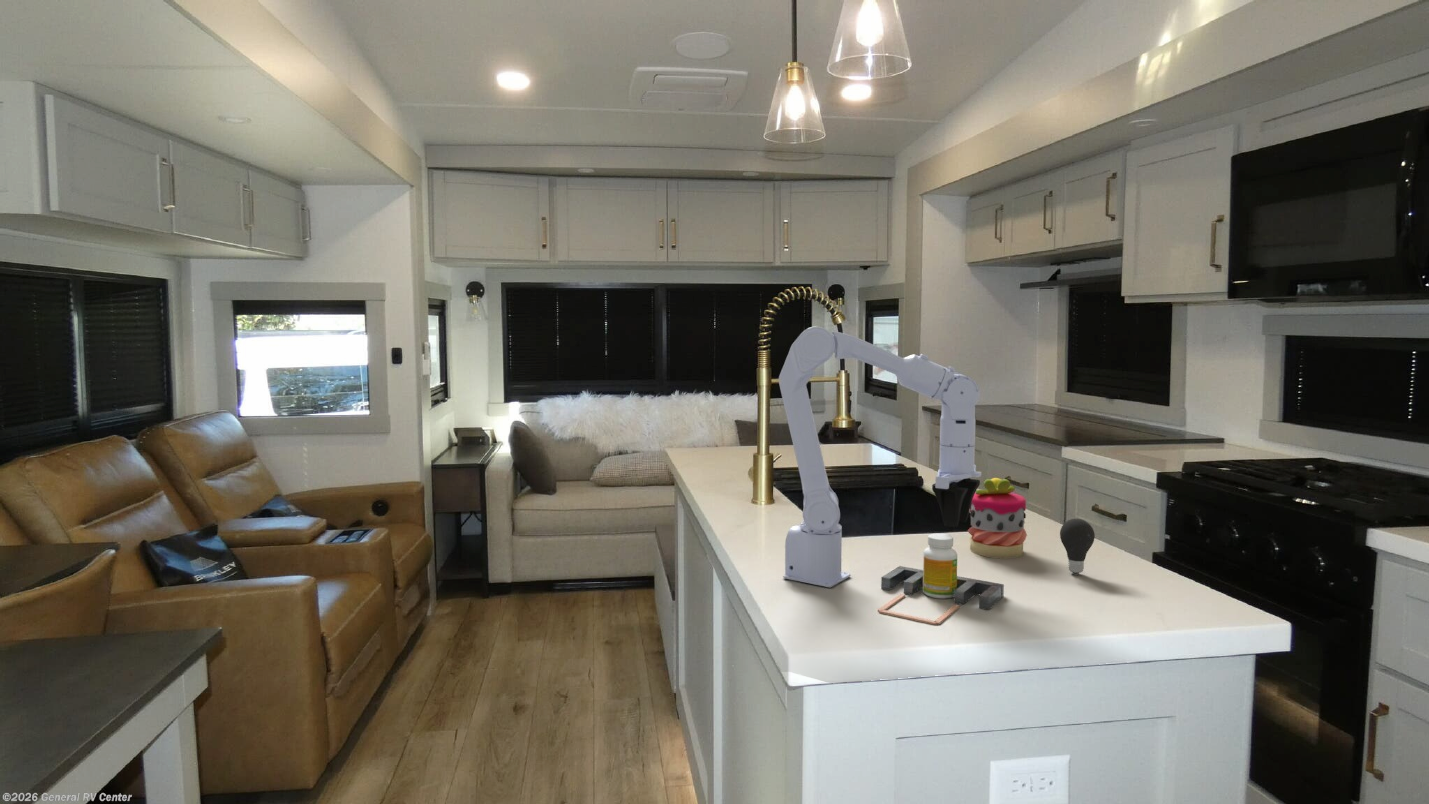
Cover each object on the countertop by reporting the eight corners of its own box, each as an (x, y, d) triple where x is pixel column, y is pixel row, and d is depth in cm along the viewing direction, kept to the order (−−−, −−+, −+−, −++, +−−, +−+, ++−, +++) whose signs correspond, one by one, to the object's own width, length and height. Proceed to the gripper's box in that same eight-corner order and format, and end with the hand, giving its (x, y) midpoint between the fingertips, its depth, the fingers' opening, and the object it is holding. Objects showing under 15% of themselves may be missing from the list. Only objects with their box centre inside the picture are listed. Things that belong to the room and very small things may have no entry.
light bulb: (1053, 574, 144) (1055, 519, 143) (1065, 567, 148) (1067, 513, 147) (1086, 581, 140) (1088, 524, 139) (1097, 573, 144) (1099, 518, 143)
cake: (960, 544, 164) (962, 471, 162) (1012, 543, 164) (1014, 470, 163) (979, 559, 153) (981, 481, 152) (1034, 558, 154) (1036, 480, 152)
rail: (881, 588, 137) (881, 577, 136) (899, 577, 143) (899, 565, 143) (988, 609, 126) (989, 597, 126) (1003, 596, 132) (1003, 584, 132)
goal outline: (876, 612, 125) (876, 610, 125) (900, 595, 133) (900, 593, 133) (938, 625, 120) (938, 623, 120) (959, 607, 127) (959, 605, 127)
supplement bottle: (958, 600, 131) (959, 541, 130) (923, 598, 132) (924, 539, 131) (955, 589, 136) (956, 533, 135) (921, 587, 137) (923, 531, 136)
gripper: (966, 452, 129) (964, 535, 130) (994, 441, 141) (992, 518, 142) (923, 448, 133) (922, 529, 134) (954, 438, 145) (952, 513, 146)
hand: (955, 523), depth 138 cm, fingers open, 4 cm apart
